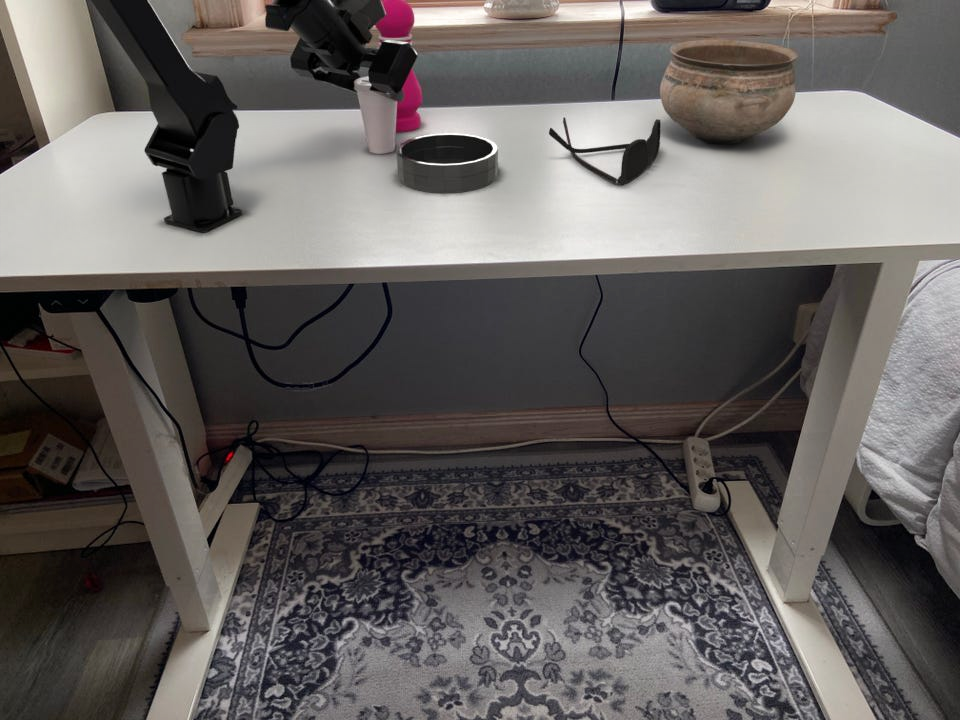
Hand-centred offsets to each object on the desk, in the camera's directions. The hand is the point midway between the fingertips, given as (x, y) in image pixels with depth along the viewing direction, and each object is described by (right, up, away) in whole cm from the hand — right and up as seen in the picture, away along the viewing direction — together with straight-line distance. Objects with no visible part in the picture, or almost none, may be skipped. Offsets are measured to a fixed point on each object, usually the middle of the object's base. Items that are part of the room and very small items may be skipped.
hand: (384, 96), depth 106 cm
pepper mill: (+1, 0, +13) cm, 13 cm away
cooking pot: (+50, -4, +7) cm, 50 cm away
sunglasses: (+30, -10, -2) cm, 32 cm away
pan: (+9, -13, -6) cm, 17 cm away
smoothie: (-1, -7, +3) cm, 8 cm away
